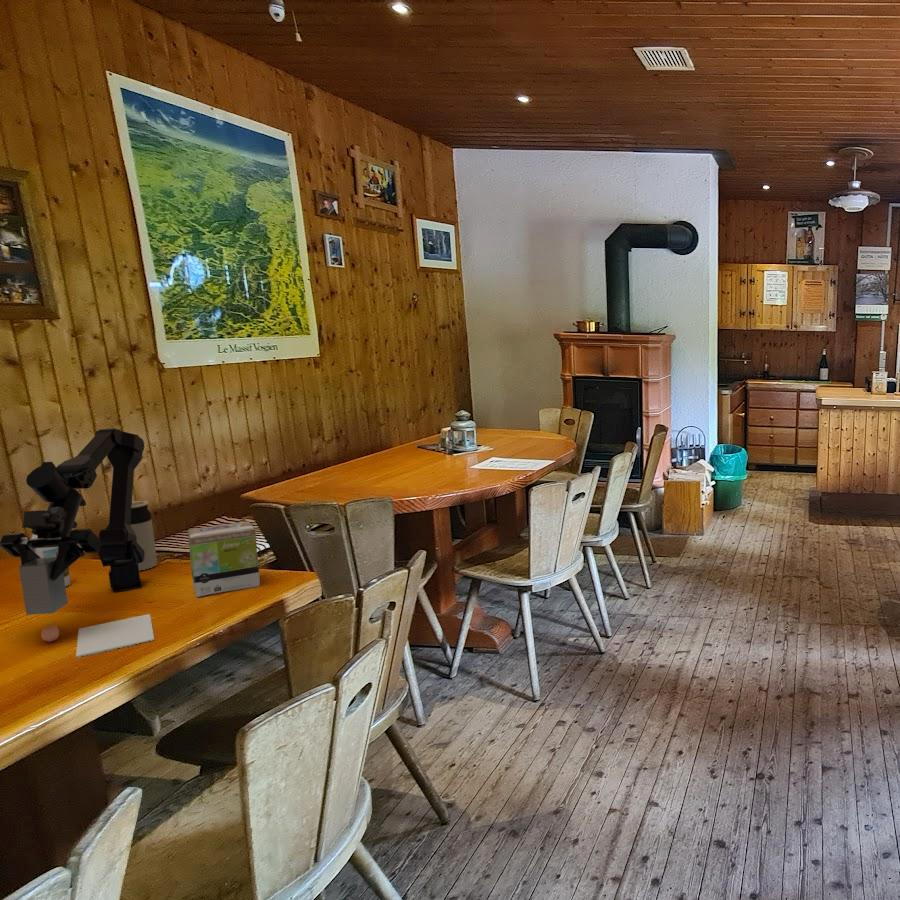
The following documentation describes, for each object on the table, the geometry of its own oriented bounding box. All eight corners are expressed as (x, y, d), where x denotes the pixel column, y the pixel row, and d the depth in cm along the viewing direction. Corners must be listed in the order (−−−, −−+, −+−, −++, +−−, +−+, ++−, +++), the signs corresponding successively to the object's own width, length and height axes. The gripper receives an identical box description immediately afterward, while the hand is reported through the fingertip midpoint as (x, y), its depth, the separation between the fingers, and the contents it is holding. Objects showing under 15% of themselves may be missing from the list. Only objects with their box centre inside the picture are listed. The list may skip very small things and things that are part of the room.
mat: (150, 615, 155) (149, 613, 155) (154, 640, 141) (154, 638, 141) (79, 630, 149) (78, 628, 149) (76, 658, 135) (75, 656, 135)
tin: (42, 604, 146) (35, 558, 145) (67, 603, 146) (60, 557, 144) (26, 614, 141) (18, 566, 139) (53, 613, 141) (45, 565, 139)
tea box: (196, 599, 164) (188, 538, 162) (193, 586, 173) (186, 528, 171) (261, 586, 170) (255, 527, 168) (255, 575, 179) (249, 519, 177)
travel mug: (162, 566, 193) (154, 502, 190) (132, 574, 187) (124, 508, 184) (150, 561, 198) (142, 499, 196) (121, 568, 193) (112, 505, 190)
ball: (60, 636, 146) (58, 621, 146) (59, 641, 144) (57, 626, 143) (43, 640, 145) (40, 625, 145) (41, 645, 142) (39, 630, 142)
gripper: (-3, 496, 144) (-32, 564, 135) (86, 490, 144) (64, 559, 134) (26, 523, 153) (1, 589, 144) (110, 518, 152) (91, 584, 143)
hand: (38, 580), depth 141 cm, fingers closed on tin, 5 cm apart
